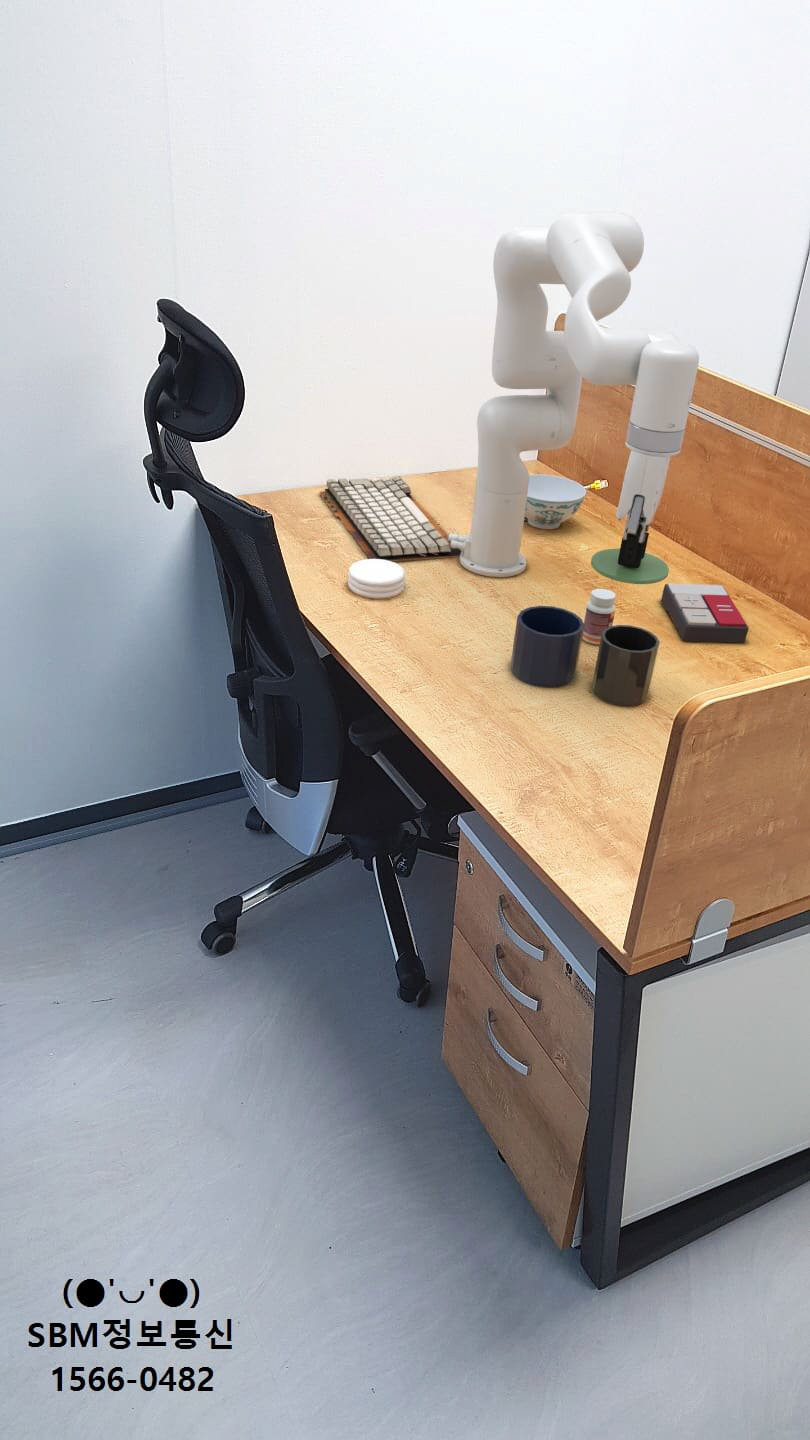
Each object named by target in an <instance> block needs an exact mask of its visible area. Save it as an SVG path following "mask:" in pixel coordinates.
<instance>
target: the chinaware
mask: <svg viewBox="0 0 810 1440" xmlns="http://www.w3.org/2000/svg"><path fill="white" fill-rule="evenodd" d="M586 495H587V490H586V488H585V487H584V485H582V484H580V483H579V482H577V481H575V480H573V479H570V478H567V477H563V476H560V475H553V474H538V473H537V474H529V485H528V494H527V501H526V508H525V516H524V518H526V519H527V523H528V524H529V525H530V526H532V527H534V528H538V529H542V530H554V529H558V528H559V527H560V526H561V523H562V524H563V523H564V522H565V521H567V520H569V519H571V518H572V517H573V516H574V515H575V514H576V513H577V512H578V511H579V509H580V508H581V506H582V504H583V503H584V500H585V498H586Z"/></svg>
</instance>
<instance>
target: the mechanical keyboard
mask: <svg viewBox="0 0 810 1440" xmlns="http://www.w3.org/2000/svg"><path fill="white" fill-rule="evenodd" d="M326 487H327V488H324V491H319V493H318V494H319V495H320V496H321V498H322V499H323V501H324V502H325V503H326V505H327V506H328V507H329V509H330V510H331V512H332V513H333V514H334V516H335V517H336V518H340V523H341V524H342V525H343V526H344V527H345V529H347V531H349V533H350V534H351V535H352V537H353V539H354V540H355V541H356V543H357V545H358V546H359V547H360V548H361V550H362V552H363V553H364V554H365V555H366V557H367V559H383V560H388V561H391V562H394V563H401V562H414V561H415V562H416V561H428V560H441V559H442V560H443V559H453V558H454V559H455V558H460V554H461V552H462V549H458V548H457V549H456V548H452V547H451V543H448V537H449V536H448V535H447V534H446V533H445V532H444V531H443V529H442V528H441V527H440V526H439V525H438V524H437V523H436V522H435V521H434V520H433V518H432V517H431V516H430V515H429V514H428V512H427V511H425V509H424V508H423V507H422V506H421V505H420V504H419V502H418V501H417V500H416V499H415V498H414V497H413V496H412V495H411V494H412V490H411V487H410V485H409V484H408V483H407V482H406V481H405V480H404V479H403V477H402V476H401V475H396V476H394V477H392V478H391V477H390V476H385V477H381V479H380V478H379V477H372V478H371V479H370V480H369V478H366V477H365V478H352V479H351V478H350V479H347V478H338V479H337V480H336V479H334V478H329V479H327V480H326Z"/></svg>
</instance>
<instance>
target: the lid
mask: <svg viewBox="0 0 810 1440" xmlns="http://www.w3.org/2000/svg"><path fill="white" fill-rule="evenodd" d="M640 531H641V529H640ZM645 537H646V531H645V534H644V539H643V541H644V542H645ZM619 552H620V548H608V549H603V550H599V551H597V552H595V553H594V554H593V555H592V556H591V558H590V559H591V560H590V565H591V567H592V569H593V570H594V571H595V572H597V573H598V575H600V576H603V577H605V578H607V579H610V580H612V581H616V582H620V583H625V584H631V585H650V584H651V585H652V584H656V583H660V582H662V581H664V580H665V579H666V578H667V577H668V576H669V572H670V568H669V566H668V564H667V563H666V562H665V561H664V560H662V559H661V558H659V557H657V556H656V555H653V554H650V553H648V552H645V556H644V558H643V559H641V564H640V567H639V568H632V567H627V566H622V565H619V564H618V558H619Z"/></svg>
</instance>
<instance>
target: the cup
mask: <svg viewBox="0 0 810 1440" xmlns="http://www.w3.org/2000/svg"><path fill="white" fill-rule="evenodd" d="M660 643H661V642H660V640H659V638H658V636H657V635H655V634H654V633H653V632H652V631H650V630H648V629H645V628H643V627H639V626H634V625H630V624H616V625H612V626H610V627H608V628H606V629H604V630H603V632H602V634H601V639H600V645H598V650H597V656H596V661H595V666H594V672H593V676H592V677H593V678H592V682H591V691H592V693H593V695H594V696H595V698H597V699H599V700H600V701H602V702H604V703H606V704H608V705H611V706H616V707H621V708H622V707H623V708H626V707H627V708H631V707H637V706H640V705H642V704H644V703H646V701H647V700H648V696H649V693H650V688H651V684H652V680H653V675H654V670H655V666H656V662H657V657H658V654H659V653H658V652H659V648H660Z"/></svg>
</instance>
